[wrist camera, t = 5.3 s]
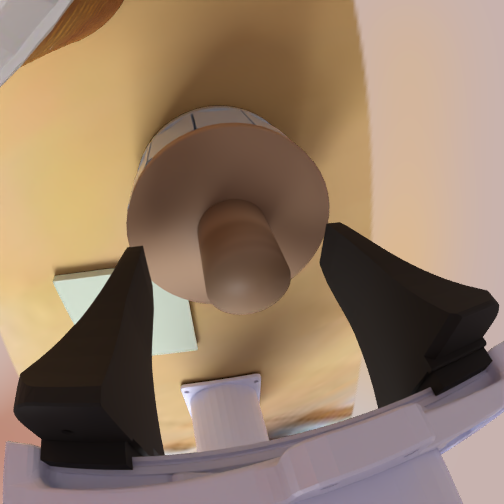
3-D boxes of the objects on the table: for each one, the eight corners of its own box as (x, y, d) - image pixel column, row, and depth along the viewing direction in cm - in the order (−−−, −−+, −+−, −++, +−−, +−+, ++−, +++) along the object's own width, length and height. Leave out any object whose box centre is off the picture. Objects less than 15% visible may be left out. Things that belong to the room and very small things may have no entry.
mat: (197, 344, 26) (197, 349, 25) (95, 354, 24) (95, 360, 23) (181, 259, 20) (182, 265, 20) (54, 275, 18) (52, 281, 18)
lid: (303, 286, 18) (331, 345, 15) (140, 298, 16) (139, 367, 13) (339, 129, 13) (396, 168, 9) (120, 125, 11) (96, 166, 7)
